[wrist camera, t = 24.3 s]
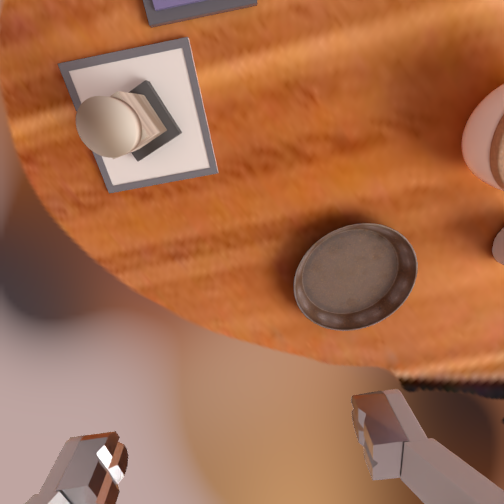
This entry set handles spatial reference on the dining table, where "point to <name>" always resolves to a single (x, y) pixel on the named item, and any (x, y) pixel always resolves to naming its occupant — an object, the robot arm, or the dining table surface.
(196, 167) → the marked square
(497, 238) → the can
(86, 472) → the robot arm
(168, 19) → the ink pad
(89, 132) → the stamp
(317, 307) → the plant saucer
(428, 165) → the dining table surface
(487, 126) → the lidded bowl
